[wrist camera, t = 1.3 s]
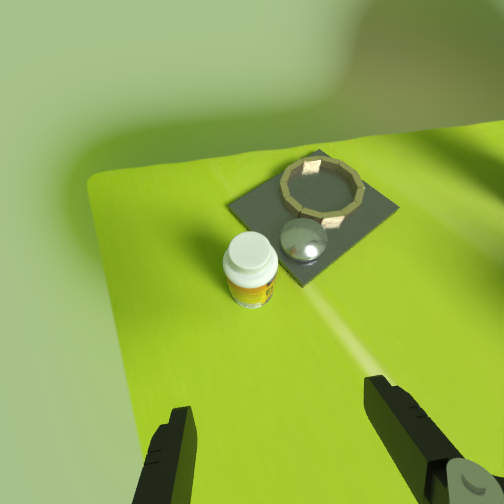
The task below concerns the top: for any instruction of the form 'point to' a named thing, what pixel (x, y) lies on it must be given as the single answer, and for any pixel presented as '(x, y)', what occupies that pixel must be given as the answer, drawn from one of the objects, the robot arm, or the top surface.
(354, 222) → the carrier plate
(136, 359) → the top surface
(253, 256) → the supplement bottle
